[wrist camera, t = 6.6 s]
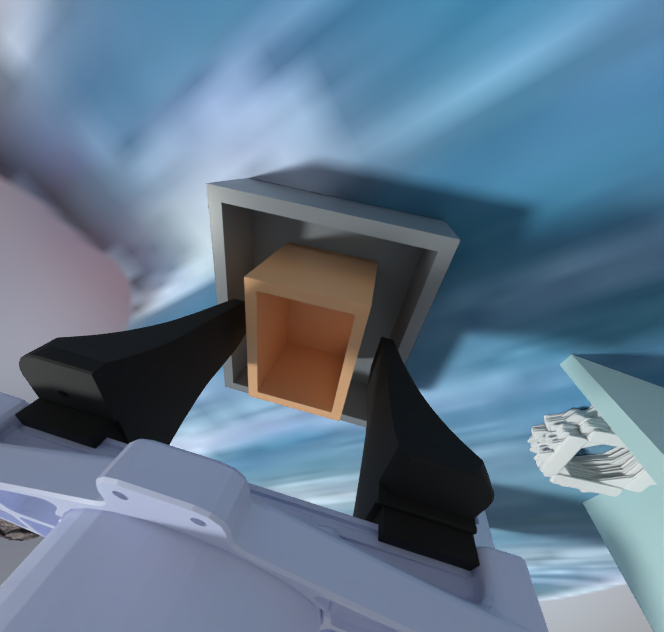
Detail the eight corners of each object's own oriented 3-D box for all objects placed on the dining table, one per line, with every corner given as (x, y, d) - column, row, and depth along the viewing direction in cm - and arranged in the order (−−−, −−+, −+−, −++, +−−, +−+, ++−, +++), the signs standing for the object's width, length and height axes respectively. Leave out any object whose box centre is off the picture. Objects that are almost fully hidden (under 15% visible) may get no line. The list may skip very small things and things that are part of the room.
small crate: (378, 261, 14) (371, 306, 9) (352, 358, 17) (339, 421, 13) (288, 241, 14) (244, 276, 10) (282, 340, 18) (248, 395, 14)
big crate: (445, 220, 12) (460, 239, 9) (378, 388, 19) (375, 430, 16) (247, 178, 13) (206, 183, 10) (250, 353, 20) (225, 386, 17)
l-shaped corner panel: (570, 352, 15) (701, 496, 8) (771, 425, 15) (1057, 627, 8) (456, 454, 21) (482, 577, 15) (593, 505, 21) (678, 651, 15)
